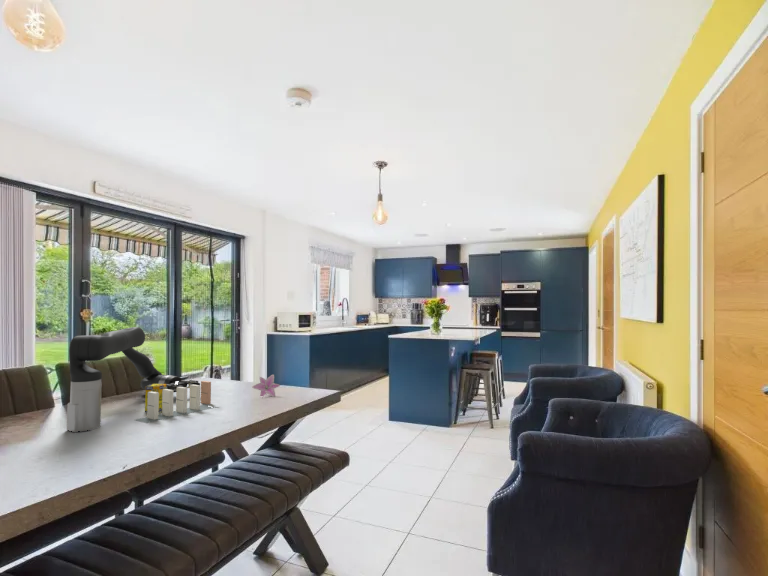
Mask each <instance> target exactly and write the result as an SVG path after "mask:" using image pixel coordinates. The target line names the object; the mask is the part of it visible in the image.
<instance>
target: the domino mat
mask: <svg viewBox="0 0 768 576" xmlns="http://www.w3.org/2000/svg"><path fill="white" fill-rule="evenodd" d="M208 405H209V404H200V409H199V410H193V409H189V407H187V412H186V413H180V412H176V410H173V416H166V415H162V413H158V419H155V420H153V419H149V418H147V416H145V417H141V418H135V421H137V422H141V423H145V424H149V423H154V422H157V421H162V420H167V419H171V418H175V417H180V416H185V415H188V414H189V415H190V414H193V413H197V412H202V411H206V410H207V411H208V410H210V409H215V408H214V407H213V408H211V407H208Z"/></svg>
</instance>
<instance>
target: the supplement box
mask: <svg viewBox="0 0 768 576" xmlns="http://www.w3.org/2000/svg"><path fill="white" fill-rule="evenodd" d="M163 389H166V384H152V385H149V386H146V390H144V391H145V395H144V396H145V398H144V399H145V401H144V402H145V403H144V412H145V413H147V398H148V392H151V391H152V392H158V393H159V410H158V413H160V412H162V390H163Z"/></svg>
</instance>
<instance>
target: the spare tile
mask: <svg viewBox="0 0 768 576" xmlns="http://www.w3.org/2000/svg"><path fill="white" fill-rule="evenodd" d="M211 395H212V382H211V381H208V380H201V381H200V404H203V405H205V404H207V405H211V404H210V403H211V402H212V396H211Z"/></svg>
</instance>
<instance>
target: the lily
mask: <svg viewBox="0 0 768 576" xmlns="http://www.w3.org/2000/svg"><path fill="white" fill-rule="evenodd" d="M280 386H281V385H280V384H278V383H275V374H271V375H270V376H268V377H267V378H264V377H262V376H259V382H258V383H256V384H254V385H253V386H251V387H252V389H254V390H257V391H260V393H259V394H260V395H259V397H260V396H263V397H264V396H265V395H267V394H268V395H269V396H271V397H273V396H275V397H276V390H275V389H277V388H279V387H280Z"/></svg>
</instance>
